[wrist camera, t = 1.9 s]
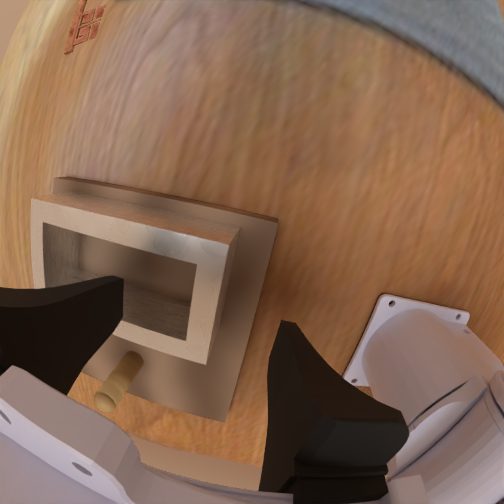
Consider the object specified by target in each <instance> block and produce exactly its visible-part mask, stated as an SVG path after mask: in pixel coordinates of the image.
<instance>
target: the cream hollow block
mask: <svg viewBox="0 0 504 504" xmlns="http://www.w3.org/2000/svg"><path fill="white" fill-rule="evenodd" d="M239 231H240V227H239V226H234V225H230V224H226V223H221V222H217V221H212V220H208V219H204V218H199V217H195V216H190V215H186V214H181V213H177V212H172V211H167V210H163V209H158V208H153V207H149V206H144V205H139V204H134V203H130V202H125V201H120V200H115V199H110V198H105V197H100V196H95V195H90V194H85V193H80V192H74V191H68V192H62V193H56V194H51V195H45V196H40V197H35V198H31V255H32V270H33V281H34V289H40V288H50V287H57V286H62V285H68V284H73V283H77V282H82V281H86V280H90V279H95V278H99V277H104V276H101V275H99V274H96V273H93V272H90V271H87V270H84V269H81V268H80V241H81V233H82V234H86V235H89V236H93V237H96V238H100V239H103V240H107V241H111V242H114V243H118V244H122V245H125V246H129V247H133V248H136V249H140V250H144V251H148V252H151V253H155V254H159V255H163V256H167V257H170V258H174V259H178V260H182V261H186V262H190V263H194V264H197V269H196V275H195V281H194V288H193V294H192V301H191V303H190V302H186V301H183V300H179V299H176V298H172V297H169V296H165V295H162V294H158V293H155V292H152V291H148V290H145V289H142V288H138V287H135V286H132V285H129V284H126V283H124V293H123V318H122V320H121V321H120V323H119V325H118V326H117V328H116V329H115V331H114V332H113V333H112V334H113V335H115V336H118V337H121V338H123V339H126V340H129V341H131V342H134V343H137V344H140V345H143V346H146V347H149V348H151V349H154V350H157V351H161V352H164V353H167V354H170V355H173V356H177V357H180V358H183V359H187V360H190V361H194V362H197V363H201V364H205V365H206V363H207V360H208V358H209V355H210V352H211V349H212V346H213V343H214V341H215V338H216V335H217V332H218V329H219V326H220V321H221V316H222V312H223V307H224V302H225V297H226V292H227V287H228V283H229V278H230V273H231V268H232V264H233V259H234V254H235V250H236V245H237V240H238V236H239Z"/></svg>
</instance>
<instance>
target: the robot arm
mask: <svg viewBox="0 0 504 504" xmlns="http://www.w3.org/2000/svg"><path fill="white" fill-rule="evenodd" d="M123 293H124V279H123V278H120V277H117V276H113V275H111V276H104V277H99V278H95V279H90V280H86V281H82V282H77V283H73V284H68V285H62V286H57V287H50V288H40V289H12V288H2V287H0V504H504V366H503V364H502V362H501V361H500V359H499V358H498V357H497V356H496V355H495V354H494V353H493V352H492V351H491V350H490V349H489V348H488V347H487V346H486V345H485V344H484V343H483V342H482V341H481V340H480V339H479V338H478V337H477V336H476V335H475V334H474V333H473V332H472V331H471V330H470V329H469V328H468V327H467V326H466V324H467V322H468V320H469V317H470V314H469V313H468V312H467V311H463V310H458V309H454V308H449V307H444V306H440V305H435V304H430V303H426V302H421V301H417V300H412V299H408V298H403V297H398V296H394V295H389V294H383V295H381V296H380V297H379V299H378V301H377V304H376V306H375V309H374V311H373V313H372V316H371V318H370V320H369V323H368V325H367V327H366V329H365V332H364V334H363V336H362V338H361V340H360V343H359V345H358V347H357V349H356V351H355V353H354V355H353V357H352V359H351V361H350V363H349V365H348V367H347V369H346V371H345V373H344V375H343V377H341V376H340V375H339V374H338V373H337V372H336V371H335V370H334V369H332V368H331V367H330V366H329V365H328V364H327V363H326V361H325V360H324V359H323V358H322V357H321V356H320V355H319V354H318V352H317V351H316V350H315V349H314V347H313V346H312V345H311V344H310V342H309V341H308V340H307V338H306V337H305V335H304V334H303V333H302V331H301V330H300V328H299V327H298V326H297V324H296V323H294V322H289V321H284V320H281V323H280V326H279V329H278V332H277V336H276V339H275V342H274V345H273V348H272V351H271V354H270V357H269V365H268V374H267V388H268V428H267V437H266V446H265V453H264V461H263V467H262V474H261V480H260V485H259V490H258V491H253V490H246V489H239V488H233V487H227V486H222V485H217V484H212V483H207V482H202V481H198V480H195V479H191V478H187V477H183V476H180V475H176V474H173V473H169V472H166V471H163V470H160V469H157V468H154V467H151V466H148V465H146V464H144V463H142V462H141V460H140V454H139V451H138V449H137V447H136V446H135V444H134V442H133V441H132V439H131V437H130V436H129V435H128V434H127V433H126V432H125V431H124V430H123V429H121V428H120V427H119V426H118V425H117V424H116V423H115V422H113V421H111V420H110V419H108V418H106V417H105V416H103V415H101V414H100V413H98V412H97V411H95V410H93V409H91V408H89V407H87V406H85V405H83V404H81V403H79V402H77V401H75V400H73V399H71V398H69V397H68V396H67V394H68V392H69V391H70V389H71V387H72V385H73V383H74V382H75V380H76V378H77V377H78V375H79V374H80V372H81V371H82V369H83V367H84V366H85V365H86V364H87V362H88V361H89V360H90V359H91V357H92V356H93V355H94V354H95V353H96V352H97V351H98V349H99V348H100V347H101V346H102V345H103V344H104V343H105V341H106V340H107V339H108V338H109V337H110V336H111V335H112V333H113V332H114V331H115V329H116V328H117V326H118V325H119V323H120V321H121V320H122V318H123ZM392 300H393V303H392V304H391V305H389V302H390V301H392ZM457 315H458V316H457ZM456 316H457V317H456ZM352 379H355V380H352ZM353 385H357V386H368V387H370V389H371V392H372V395H373V397H374V398H372V397H370V396H368V395H367V394H365V393H363V392H362V391H360V390H359V389H357V388H356V387H354V386H353ZM386 474H388V478H386V479H385V476H384V475H386Z"/></svg>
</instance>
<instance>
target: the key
mask: <svg viewBox="0 0 504 504" xmlns="http://www.w3.org/2000/svg"><path fill="white" fill-rule="evenodd" d="M86 1H87V0H79V3H78V6H77V9H76V12H75V15H74V18H73V21H72V25H71V28H70V32H69V36H68V40H67V44H66V48H65V52H64V54H65V55H66V54H69V53H71V52H73V48H74V46H75V45H77V44H80V43H82V42H84V41H87V40H88V35H89V31H90V27H91V26H88V27H85V26H87V25H90V24H92V23H95V22H97V21H100V20H101V19H99V20H96V21H93V22H90V21H92V20H93V16H94V13H95V9H93V10H90V11H87V12H85V13H83V11H84V8H85V4H86ZM105 6H106V5H104V6H101V7H98V8H97V11H96V14H95V18H94V19H97V18H99V17H102V15H103V12H104V8H105ZM88 14H89V15H88ZM86 15H87V16H86ZM83 16H84V18H83ZM82 20H83V22H82ZM87 22H90V23H87ZM81 23H82V24H84V25H82V26H81ZM85 23H87V24H85ZM99 24H100V22H99V23H96V24H93V25H92V29H91V34H90V38H89V39H92V38H95V37H96V34H97V30H98V27H99ZM83 27H85V28H83ZM80 28H82V29H80ZM79 30H80V33H79ZM78 34H79V37H81V36H83V37H81V38H78ZM77 38H78V39H77Z"/></svg>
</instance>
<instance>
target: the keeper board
mask: <svg viewBox="0 0 504 504" xmlns="http://www.w3.org/2000/svg"><path fill="white" fill-rule="evenodd" d="M68 191H74V192H80V193H85V194H90V195H95V196H100V197H105V198H110V199H115V200H120V201H125V202H130V203H134V204H139V205H144V206H149V207H153V208H158V209H163V210H167V211H172V212H177V213H181V214H186V215H190V216H195V217H199V218H204V219H208V220H212V221H217V222H221V223H226V224H230V225H234V226H239V227H240V231H239V236H238V240H237V245H236V250H235V254H234V259H233V264H232V268H231V273H230V278H229V283H228V287H227V292H226V297H225V302H224V307H223V312H222V316H221V321H220V326H219V329H218V332H217V335H216V338H215V341H214V343H213V346H212V349H211V352H210V355H209V358H208V360H207V363H206V365H205V364H201V363H197V362H194V361H190V360H187V359H183V358H180V357H177V356H173V355H170V354H167V353H164V352H161V351H157V350H154V349H151V348H149V347H146V346H143V345H140V344H137V343H134V342H131V341H129V340H126V339H123V338H121V337H118V336H115V335H113V334H112V335H111V336H110V337H109V338H108V339H107V340H106V341H105V343H104V344H103V345H102V346H101V347H100V348H99V349H98V351H97V352H96V353H95V354H94V355H93V356H92V357H91V359H90V360H89V361H88V362H87V364H86V365H85V366H84V367H83V369H82V371H81V372H83V373H85V374H87V375H89V376H91V377H93V378H95V379H97V380H100V381H102V382H104V383H103V384H102V386H101V387H100V388H99V390H98V391H97V392H96V394H95V396H94V402H95V405H96V406H97V408H98V409H99V410H101V411H103V412H112V411H113V410H114V409H115V408H116V407H117V405H118V403H119V402H120V400H121V399H122V397H123V395H124V394H125V392H128V393H130V394H133V395H135V396H138V397H141V398H143V399H146V400H149V401H152V402H155V403H158V404H161V405H164V406H167V407H170V408H173V409H176V410H179V411H183V412H186V413H190V414H193V415H197V416H201V417H204V418H208V419H212V420H216V421H221V422H225V421H226V418H227V414H228V411H229V407H230V404H231V400H232V397H233V393H234V390H235V386H236V383H237V379H238V375H239V372H240V368H241V365H242V361H243V357H244V354H245V350H246V346H247V343H248V339H249V335H250V332H251V328H252V324H253V321H254V317H255V313H256V309H257V305H258V302H259V298H260V294H261V290H262V286H263V283H264V279H265V275H266V271H267V267H268V263H269V259H270V255H271V251H272V247H273V243H274V239H275V235H276V231H277V227H278V223H279V222H278V219H277V218H272V217H268V216H264V215H260V214H255V213H251V212H247V211H243V210H238V209H234V208H229V207H225V206H220V205H216V204H211V203H206V202H202V201H197V200H192V199H187V198H183V197H178V196H173V195H168V194H163V193H158V192H152V191H147V190H142V189H136V188H131V187H126V186H120V185H114V184H109V183H103V182H97V181H91V180H85V179H78V178H72V177H58V178H54V185H53V194H56V193H62V192H68ZM80 268H81V269H84V270H87V271H90V272H93V273H96V274H99V275H101V276H111V275H113V276H117V277H120V278H123V279H124V283H126V284H129V285H132V286H135V287H138V288H142V289H145V290H148V291H152V292H155V293H158V294H162V295H165V296H169V297H172V298H176V299H179V300H183V301H186V302H190V303H191V301H192V294H193V288H194V281H195V275H196V269H197V264H194V263H190V262H186V261H182V260H178V259H174V258H170V257H167V256H163V255H159V254H155V253H151V252H148V251H144V250H140V249H136V248H133V247H129V246H125V245H122V244H118V243H114V242H111V241H107V240H103V239H100V238H96V237H93V236H89V235H86V234H82V233H81V241H80Z"/></svg>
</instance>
